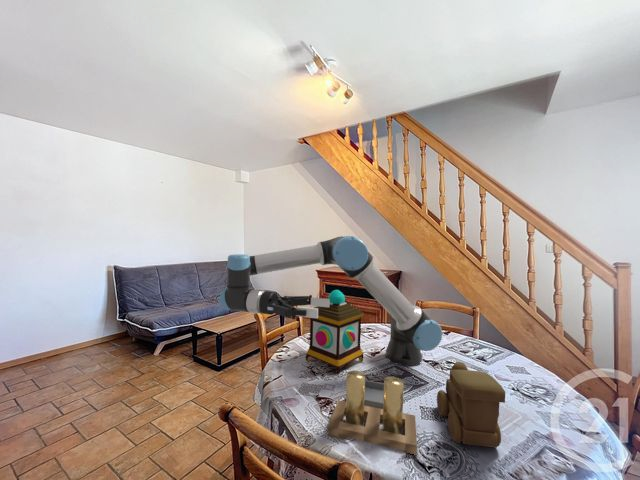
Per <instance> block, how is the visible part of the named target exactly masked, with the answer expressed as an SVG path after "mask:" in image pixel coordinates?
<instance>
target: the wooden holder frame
mask: <svg viewBox="0 0 640 480" xmlns="http://www.w3.org/2000/svg"><path fill="white" fill-rule="evenodd" d="M345 417H346V401H343V400H340V399H339V400H338V401H337V403H336V404H335V407H334V410H333V413H332V415H331V417H330V420H329V422H328V424H327V436H330V437H334V436H335V437H334V438H338V437H339V438H338V439H342V438H343V440H346V439H347V440H348V441H350V439H352V440H356V441H360V442H365V443H370V444H372V445H377V446H383V447H385V448H391V449H394V450H399V451H403V452H406V453H410V454H415V455H417V456H418V439H417V426H416V425H417V422H416V415H413V414H409V413H404V412H403V416H402V427H404V434H402V435H400V434H396V433H391V432H387V431H382V429H380V425H381V422H382V423H383V409H380V408H374V407H369V406H364V419H366V422H365V424H364V425H365V426H359V425H355V424H350V423H345V421H344V419H345ZM406 453H405V454H406ZM410 454H409V455H410Z"/></svg>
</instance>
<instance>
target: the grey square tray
mask: <svg viewBox="0 0 640 480" xmlns="http://www.w3.org/2000/svg"><path fill="white" fill-rule="evenodd" d="M383 399H384V382H378V381H373V380H367V379H365V399H364V406H369V407H374V408H380V409H383Z"/></svg>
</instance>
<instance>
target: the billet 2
mask: <svg viewBox="0 0 640 480" xmlns="http://www.w3.org/2000/svg"><path fill="white" fill-rule="evenodd" d="M383 383H384V399H383V422H382V427H381V430H382V431H387V432H391V433H396V434H400V435H403V426H402V416H403V413H404V412H403V411H404V385H405V384H404V380H402V379H401V378H399V377H397V376H387V377H386V376H385V378H384V379H383Z"/></svg>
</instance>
